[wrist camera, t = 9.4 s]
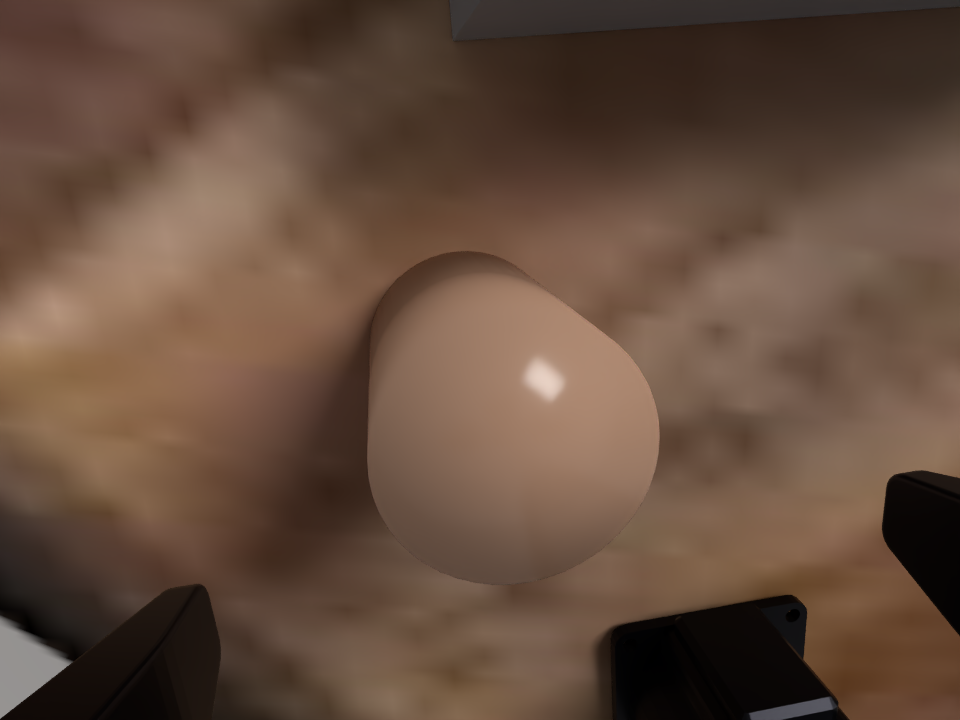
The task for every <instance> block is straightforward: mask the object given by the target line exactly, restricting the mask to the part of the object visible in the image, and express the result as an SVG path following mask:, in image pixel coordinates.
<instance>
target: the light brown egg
mask: <svg viewBox="0 0 960 720" xmlns="http://www.w3.org/2000/svg"><path fill="white" fill-rule="evenodd" d="M659 438H660V434H659V420H658V414H657V410H656V405H655V401H654V398H653V396H652V393H651V390H650V387H649V385H648V383H647V381H646V380H645V378H644V376H643V374H642V372H641V370H640V369H639V368H638V366H637V365H636V364H635V362H634V361H633V360H632V358H631V357H630V356H629V355H628V354H627V353H626V352H625V351H624V350H623V349H622V348H621V347H620V346H619V345H618V344H617V343H616V342H614V341H613V340H612V339H611V338H609V337H608V336H607V335H605V334H604V333H603V332H601V331H600V330H599V329H598V328H596V327H595V326H594V325H592V324H591V323H590V322H588V321H587V320H586V319H585V318H583V317H582V316H581V315H579V314H578V313H577V312H575V311H574V310H573V309H572V308H570V307H569V306H568V305H566V304H565V303H564V302H562V301H561V300H560V299H558V298H557V297H556V296H555V295H553V294H552V293H551V292H549V291H548V290H547V289H545V288H544V287H543V286H542V285H540V284H539V283H538V282H536V281H535V280H534V279H532V278H531V277H530V276H529V275H527V274H526V273H525V272H523V271H522V270H521V269H519V268H518V267H516V266H515V265H513V264H512V263H510V262H508V261H506V260H504V259H502V258H499V257H496V256H494V255H490V254H485V253H481V252H471V251H461V252H451V253H445V254H441V255H438V256H435V257H431V258H429V259H427V260H425V261H423V262H420V263H419V264H417V265H415V266H414V267H412V268H411V269H409V270H408V271H407V272H405V273H404V274H403V275H402V276H401V277H399V278H398V279H397V280H396V282H395V283H394V284H393V285H392V286H391V287H390V288H389V290H388V291H387V293H386V294H385V295H384V297H383V298H382V300H381V302H380V304H379V306H378V308H377V311H376V314H375V316H374V319H373V323H372V328H371V334H370V357H369V402H368V446H367V465H368V478H369V483H370V487H371V491H372V496H373V499H374V501H375V504H376V506H377V509H378V511H379V513H380V515H381V517H382V519H383V520H384V522H385V524H386V526H387V527H388V529H389V530H390V531H391V533H392V534H393V535H394V537H395V538H396V539H397V540H398V542H399V543H400V544H402V545H403V546H404V547H405V548H406V549H407V550H408V551H409V552H410V553H411V554H412V555H414V556H415V557H416V558H418V559H419V560H421V561H422V562H423V563H425V564H426V565H428V566H430V567H432V568H434V569H436V570H438V571H439V572H442V573H444V574H447V575H450V576H452V577H455V578H458V579H462V580H466V581H470V582H475V583H483V584H492V585H510V584H519V583H527V582H532V581H536V580H541V579H545V578H548V577H551V576H554V575H556V574H559V573H562V572H564V571H566V570H568V569H571V568H573V567H575V566H577V565H579V564H581V563H582V562H584V561H585V560H587V559H589V558H590V557H592V556H593V555H595V554H596V553H597V552H599V551H600V550H601V549H603V548H604V547H605V546H606V545H608V544H609V543H610V542H611V541H612V540H613V539H614V538H615V537H616V536H617V535H618V534H619V533H620V532H621V531H622V530H623V528H624V527H625V526H626V525H627V524H628V522H629V521H630V520H631V519H632V517H633V516H634V514H635V513H636V511H637V510H638V508H639V506H640V505H641V503H642V501H643V499H644V497H645V495H646V493H647V491H648V489H649V487H650V484H651V481H652V478H653V475H654V472H655V468H656V463H657V458H658V453H659Z"/></svg>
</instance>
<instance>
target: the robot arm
mask: <svg viewBox="0 0 960 720" xmlns="http://www.w3.org/2000/svg"><path fill="white" fill-rule="evenodd" d="M882 533H883V537H884V540H885V542H886V544H887V546H888V547H889V549H890V550H891V551H892V552H893V554H894V555H895V556H896V557H897V559H898V560H899V561H900V562H901V564H902V565H903V566H904V567H905V569H906V570H907V571H908V572H909V574H910V575H911V576H912V577H913V579H914V580H915V581H916V582H917V584H918V585H919V586H920V587H921V589H922V590H923V591H924V592H925V594H926V595H927V596H928V597H929V599H930V600H931V601H932V602H933V604H934V605H935V606H936V607H937V609H938V610H939V611H940V612H941V614H942V615H943V616H944V617H945V619H946V620H947V621H948V622H949V624H950V625H951V626H952V627H953V628H954V630H955V631H956V632H957V633H958V634H959V636H960V478H957V477H952V476H947V475H943V474H938V473H934V472H929V471H923V470H921V471H912V472H906V473H900V474H896V475H894V476H892V477H891V478H890V479H889V481H888V483H887V487H886V496H885V504H884V513H883V522H882ZM790 610H791V611H790ZM789 611H790V612H789ZM788 612H789V613H788ZM806 620H807V609H806V607H805V606H804V605H803V604H802V603H801V601H800V600H799V599H798V598H797V597H795V596H793V595H783V596H778V597H772V598H767V599H761V600H756V601H750V602H745V603H739V604H734V605H728V606H722V607H717V608H711V609H706V610H700V611H695V612H689V613H684V614H678V615H673V616H667V617H662V618H656V619H650V620H645V621H639V622H634V623H628V624H624V625H621V626H619V627H618V628H616V629H615V630H614V632H613V633H612V635H611V673H612V709H613V720H849V719H848V717H847V716H846V715H845V714H844V713H843V711H842V710H841V709H840V708H839V707H838V701H837V699H836V697H835V696H834V695H833V694H832V693H831V691H830V690H829V689H828V688H827V687H826V686H825V684H824V683H823V682H822V681H821V680H820V679H819V677H818V676H817V675H816V674H815V673H814V671H813V670H812V669H811V668H810V667H809V666H808V664H807V663H806V662H805V661H804V660H803V656H804V644H805V632H806ZM629 639H632V640H631V641H630V642H628V643H626V644H623V643H624V642H625V641H626V640H629ZM220 658H221V647H220V639H219V635H218V631H217V627H216V622H215V618H214V614H213V610H212V606H211V602H210V598H209V594H208V592H207V590H206V588H205V587H204V586H203V585H201V584H193V585H187V586H180V587H174V588H170V589H167V590H165V591H164V592H163V593H161V594H160V595H159V596H157V597H156V598H155V599H154V600H152V601H151V602H150V603H148V604H147V605H146V606H145V607H143V608H142V609H141V610H139V611H138V612H137V613H136V614H134V615H133V616H132V617H130V618H129V619H128V620H127V621H125V622H124V623H123V624H121V625H120V626H119V627H118V628H116V629H115V630H114V631H112V632H111V633H110V634H109V635H107V636H106V637H105V638H103V639H102V640H101V641H100V642H98V643H97V644H96V645H94V646H93V647H92V648H91V649H89V650H88V651H87V652H85V653H84V654H83V655H82V656H80V657H79V658H78V659H76V660H75V661H74V662H73V663H71V664H70V665H69V666H67V667H66V668H65V669H64V670H62V671H61V672H60V673H58V674H57V675H56V676H55V677H53V678H52V679H51V680H50V681H48V682H47V683H46V684H44V685H43V686H42V687H41V688H39V689H38V690H37V691H35V692H34V693H33V694H32V695H30V696H29V697H28V698H26V699H25V700H24V701H23V702H21V703H20V704H19V705H17V706H16V707H15V708H14V709H12V710H11V711H10V712H8V713H7V714H6V715H5V716H3V717H2V718H1V719H0V720H212V713H213V706H214V700H215V693H216V686H217V680H218V673H219V666H220Z"/></svg>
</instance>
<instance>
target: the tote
mask: <svg viewBox="0 0 960 720" xmlns="http://www.w3.org/2000/svg"><path fill="white" fill-rule="evenodd" d="M449 3H450V15H451V26H452V38H453V41H462V40H477V39H492V38H506V37H521V36H536V35H551V34H565V33H580V32H595V31H609V30H624V29H639V28H654V27H668V26H683V25H698V24H712V23H727V22H742V21H757V20H771V19H786V18H801V17H815V16H830V15H845V14H860V13H874V12H889V11H904V10H918V9H933V8H948V7H960V0H449Z"/></svg>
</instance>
